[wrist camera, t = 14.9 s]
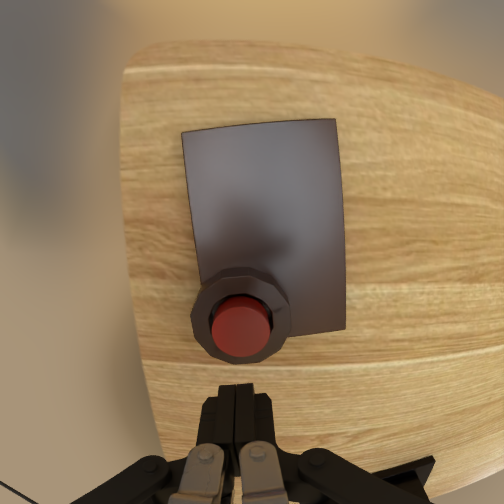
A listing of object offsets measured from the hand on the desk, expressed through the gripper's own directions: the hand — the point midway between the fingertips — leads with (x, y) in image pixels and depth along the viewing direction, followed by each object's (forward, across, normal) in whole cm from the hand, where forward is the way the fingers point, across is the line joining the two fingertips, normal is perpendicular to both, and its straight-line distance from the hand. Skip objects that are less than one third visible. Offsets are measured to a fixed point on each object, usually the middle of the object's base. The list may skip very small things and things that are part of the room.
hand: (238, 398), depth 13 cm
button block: (+10, -2, -5) cm, 12 cm away
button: (+8, 0, 0) cm, 8 cm away
